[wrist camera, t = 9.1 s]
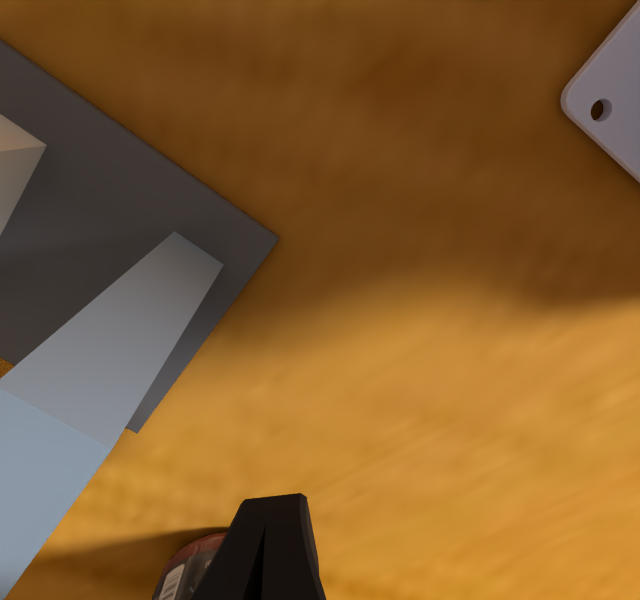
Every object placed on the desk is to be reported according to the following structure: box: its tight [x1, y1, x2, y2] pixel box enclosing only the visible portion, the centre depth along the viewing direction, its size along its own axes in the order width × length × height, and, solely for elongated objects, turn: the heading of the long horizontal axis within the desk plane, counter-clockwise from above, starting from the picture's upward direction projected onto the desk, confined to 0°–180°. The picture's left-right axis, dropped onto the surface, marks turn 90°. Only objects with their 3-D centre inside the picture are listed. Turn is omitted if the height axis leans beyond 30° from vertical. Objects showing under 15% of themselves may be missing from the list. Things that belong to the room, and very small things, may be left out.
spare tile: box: [0, 231, 224, 600], centre depth 10 cm, size 2×5×8 cm, turn 144°
